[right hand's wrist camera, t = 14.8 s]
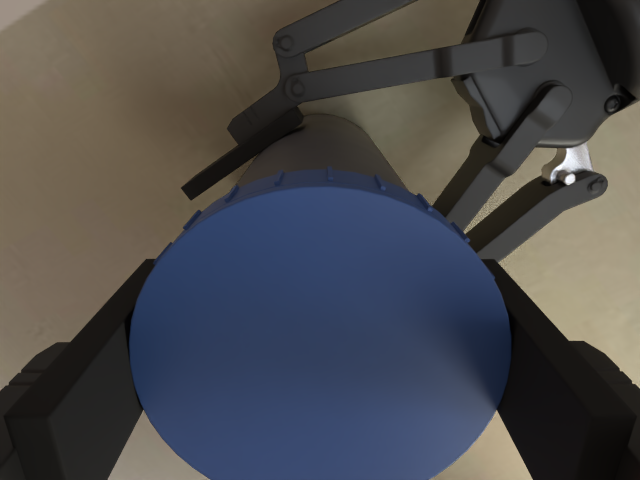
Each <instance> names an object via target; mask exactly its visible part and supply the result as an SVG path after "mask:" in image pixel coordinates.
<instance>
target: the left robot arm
mask: <svg viewBox="0 0 640 480" xmlns="http://www.w3.org/2000/svg"><path fill="white" fill-rule="evenodd" d="M416 1H418V0H340V1H338V2H336V3H333V4H331V5H329V6H327V7H325V8H323V9H321V10H319V11H317V12H315V13H313V14H311V15H309V16H307V17H305V18H302V19H300V20H298V21H296V22H294V23H292V24H290V25H288V26H286V27H284V28H282V29H280V30H279V31H277V32H276V34H275V35H274V37H273V43H272V44H273V48H274V50H275V53H276V57H277V61H278V64H279V68H280V80H279V83H278V85H277V86H276V87H275V88H274V89H273V90H272V91H270V92H269V93H268V94H266V95H265V96H264V97H262V98H261V99H259V100H258V101H257V102H255V103H254V104H253V105H251V106H250V107H248V108H247V109H246V110H244V111H243V112H242V113H240V114H239V115H237V116H236V117H235V118H233V119H232V121H231V123H230V124H229V126H228V128H227V130H228V131H229V132H230V134H231V135H232V137H233V138H234V139H235V141H236V142H237V143H238V146H236V147H235V148H233V149H232V150H231V151H229V152H228V153H226V154H225V155H224V156H222V157H221V158H219V159H218V160H216V161H215V162H214V163H212V164H211V165H209V166H208V167H207V168H205V169H204V170H202V171H201V172H200V173H198V174H197V175H195V176H194V177H193V178H192V179H191V180H190V181H188V182H187V183H186V184H185V185H184V186H183V187H181V189H182V190H183V191H184V193H185V194H186V195H187V196H188V198H189V199H190V200H193V199H194V198H195V197H197V196H198V195H200V194H201V193H203V192H204V191H205V190H207V189H208V188H210V187H211V186H213V185H214V184H215V183H217V182H218V181H220V180H221V179H223V178H224V177H226V176H227V175H228V174H230V173H231V172H233V171H234V170H236V169H237V168H238V167H240V166H241V165H243V164H244V163H246V162H247V161H248V160H250V159H251V158H253V157H254V156H256V155H257V154H258V153H260V152H261V151H263V150H264V149H266V148H267V147H268V146H270V145H271V144H273V143H274V142H276V141H277V140H279V139H280V138H281V137H283V136H284V135H286V134H287V133H289V132H290V131H291V130H293V129H294V128H296V127H297V126H299V125H300V124H301V123H302V122H303V119H304V116H303V115H302V113H301V112H300V110H299V109H298V107H297V106H298V105H299V104H301V103H302V102H308V101H313V100H319V99H325V98H330V97H336V96H341V95H347V94H352V93H358V92H363V91H369V90H375V89H380V88H386V87H391V86H397V85H402V84H408V83H414V82H419V81H425V80H430V79H436V78H444V77H451V76H453V79H451V81H452V83H453V85H454V87H455V89H456V91H457V93H458V94H459V95H460V96H461V97H462V98H463V99H464V100H465V101H466V102H467V103H468V104H469V106H470V111H471V115H472V120H473V122H474V124H475V126H476V128H477V130H478V132H479V133H480V136H479V137H478V139H477V140H476V141H475V143H474V144H473V146H472V147H471V149H470V154H469V156H468V158H467V159H466V161H465V162H464V163H463V165H462V166H461V167H460V169H459V170H458V171H457V173H456V174H455V176H454V177H453V178H452V180H451V181H450V182H449V184H448V185H447V186H446V188H445V189H444V191H443V192H442V193H441V195H440V196H439V197H438V199H437V200H436V201H435V203H434V204H433V205H432V207H433V208H434V209H436V210H437V211H438V212H440V213H441V214H442V215H443V216H444V217H445V218H446V219H447V220H448V221H449V222H450V223H452V222H453V221H454V222H455V223H456V225H457V226H458V227H459V228H460V229H461V230H462V231H464V230H465V228H466V227H467V226H468V225H469V223H470V222H471V221H472V219H473V218H474V217H475V216H476V214H477V213H478V212H479V210H480V209H481V208H482V207H483V205H484V204H485V203H486V201H487V200H488V199H489V198H490V196H491V195H492V194H493V192H494V191H495V190H496V189H497V187H498V186H499V185H500V183H501V182H502V181H503V180H504V179H505V178H506V177H508V176H510V175H512V174H513V173H515V172H516V170H517V169H518V168H519V167H520V166H521V164H522V163H523V162H524V160H525V159H526V158H527V157H528V155H529V154H530V153H531V151H532V150H533V149H534V148H535V147H541V148H557V154H556V156H555V158H554V159H553V160H552V161H550V162H549V163H548V164H546V165H544V166H543V167H542V169H541V171H542V175H541V176H539V177H537V178H535V179H534V180H532V181H530V182H529V183H527V184H526V185H524V186H523V187H522V188H520V189H519V190H518V191H517V192H516V193H514V194H513V195H512V196H511V197H510V198H508V199H507V200H506V201H505V202H504V203H502V204H501V205H500V206H499V207H498V208H496V209H495V210H494V211H493V212H492V213H490V214H489V215H488V216H487V217H485V218H484V219H483V220H482V221H481V222H479V223H478V224H477V225H476V226H475V227H473V228H472V229H471V230H470V231H469V232H467V233H466V234H465V235H466V236H467V237H468V238H469V239H470V242H468V244H469V245H470V246H471V248H472V249H473V250H474V251H475V252H476V254H477V255H478V256H479V258H480V259H495V260H496V262H497V263H498V262H500V261H501V260H502V259H504V258H505V257H506V256H507V255H509V254H510V253H511V252H512V251H514V250H515V249H516V248H517V247H519V246H520V245H521V244H522V243H524V242H525V241H526V240H528V239H529V238H530V237H531V236H533V235H534V234H535V233H536V232H538V231H539V230H540V229H541V228H543V227H544V226H545V225H546V224H548V223H549V222H550V221H552V220H553V219H554V218H555V217H557V216H558V215H559V214H560V213H562V212H563V211H565V210H567V209H570V208H572V207H575V206H577V205H580V204H582V203H585V202H587V201H590V200H592V199H595V198H597V197H599V196H601V195H602V194H603V193H604V192H605V191H606V189H607V186H608V181H607V179H606V177H605V176H603V175H602V174H599V173H596V172H594V170H593V167H592V163H591V158H590V154H589V150H588V146H587V141H588V140H589V139H590V138H591V137H592V136H593V135H594V133H595V132H596V130H597V129H598V127H599V126H600V125H601V124H602V123H603V122H604V121H605V120H606V119H607V118H608V117H610V116H611V115H613V114H615V113H616V112H619V111H621V110H623V109H625V108H627V107H629V106H631V105H632V104H634V103H636V102H638V101H640V0H480V2H479V4H478V6H477V8H476V11H475V13H474V15H473V18H472V20H471V22H470V24H469V27H468V29H467V31H466V34H465V36H464V38H463V40H462V43H461V44H459V45H453V46H448V47H442V48H437V49H432V50H426V51H421V52H415V53H410V54H405V55H399V56H394V57H388V58H383V59H377V60H372V61H366V62H361V63H356V64H350V65H345V66H339V67H334V68H328V69H323V70H317V71H312V72H309V70H308V66H307V62H306V58H305V53H308V52H310V51H312V50H314V49H316V48H318V47H320V46H322V45H325V44H327V43H329V42H331V41H333V40H335V39H337V38H339V37H341V36H344V35H346V34H348V33H350V32H352V31H354V30H356V29H358V28H361V27H363V26H365V25H367V24H369V23H371V22H373V21H375V20H377V19H380V18H382V17H384V16H386V15H388V14H390V13H392V12H394V11H397V10H399V9H401V8H403V7H405V6H407V5H409V4H411V3H413V2H416Z"/></svg>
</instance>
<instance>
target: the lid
mask: <svg viewBox="0 0 640 480" xmlns="http://www.w3.org/2000/svg"><path fill="white" fill-rule="evenodd" d="M183 229H184V231H183V232H182V233H181V234H180V235H179V236H178V237H177V239H176V240H175V241H174V242H173V243H172V242H170V243H169V245H168V246H167V247H166V248H165V249H164V250H163V252H162V253H161V254H160V255H159V256H158V257H157V259H156V260H155V261H154V263H153V264H154V265H155V267H154V268H153V270H152V271H151V273H150V274H149V276H148V277H147V279H146V281H145V283H144V285H143V287H142V290H141V292H140V294H139V296H138V298H137V301H136V305H135V308H134V312H133V316H132V319H131V326H130V335H129V361H130V367H131V373H132V378H133V383H134V387H135V389H136V392H137V395H138V398H139V400H140V403H141V405H142V407H143V409H144V411H145V413H146V415H147V417H148V418H149V420H150V422H151V424H152V425H153V426H154V428H155V429H156V431H157V432H158V433H159V435H160V436H161V438H162V439H163V440H164V441H165V442H166V443H167V444H168V445H169V446H170V448H171V449H172V450H173V451H174V452H175V453H176V454H177V455H178V456H179V457H181V458H182V459H183V460H184V461H185V462H187V463H188V464H189V465H190V466H191V467H193V468H194V469H195V470H197V471H198V472H200V473H201V474H203V475H204V476H206V477H207V478H209V479H211V480H429V479H431V478H433V477H435V476H436V475H438V474H439V473H440V472H442V471H443V470H445V469H446V468H448V467H449V466H450V465H452V464H453V463H454V462H455V461H456V460H457V459H458V458H460V457H461V456H462V455H463V454H464V453H465V452H466V451H467V450H468V449H469V448H470V447H471V446H472V445H473V444H474V442H475V441H476V440H477V439H478V438H479V437H480V436H481V434H482V433H483V431H484V430H485V428H486V427H487V425H488V424H489V422H490V421H491V419H492V418H493V416H494V414H495V412H496V410H497V408H498V406H499V404H500V401H501V399H502V397H503V393H504V390H505V387H506V384H507V380H508V375H509V369H510V363H511V331H510V324H509V318H508V313H507V310H506V307H505V304H504V301H503V298H502V295H501V292H500V290H499V288H498V286H497V285H496V283H495V281H494V279H495V277H494V275H493V274H492V272H491V271H490V270H489V269H488V268H487V266H486V265H485V264H484V263H483V262H482V260H481V259H480V258H479V256H478V255H477V254H476V252H475V251H474V250H473V249H472V248H471V246H470V245H469V244H468V242H470V239H469V238H468V237H467V236H466V235H465V234H464V233H463V231H462V230H461V229H460V228H459V227H458V226H457V225H456V223H455V222H454V221H453V222H452V223H450V222H449V221H448V220H447V219H446V218H445V217H444V216H443V215H442V214H441V213H440V212H438V211H437V210H436V209H434V208H433V207H432V206H430V204H429V203H428V202H427V201H426V199H425V198H424V197H423V196H422V195H421V194H419V193H418V195H417V196H416V195H414V194H412V193H410V192H409V191H407V190H405V189H403V188H402V187H399V186H397V185H394V184H392V183H389V182H387V181H384V180H382V179H381V177H380V175H377V174H375V177H372V176H367V175H363V174H359V173H355V172H348V171H339V170H332V166H327V169H324V170H300V171H293V172H286V173H284V172H283V170H279V171H278V173H277V174H276V175H273V176H269V177H266V178H262V179H259V180H255V181H253V182H251V183H249V184H246V185H244V186H242V187H238V185H235V186H234V187H233V188H232V189H231V191H230V192H229V193H228V194H226V195H225V196H223V197H221V198H220V199H218V200H217V201H215V202H213V203H212V204H211V205H210V206H208V207H207V208H206V209H205V210H204V211H202V212H201V211H200V210H198V211H197V212H196V213H195V214H194V215H193V216H192V217H191V219H190V220H189V221H188V222H187V223H186V224H185V226H184V227H183Z"/></svg>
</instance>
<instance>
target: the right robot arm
mask: <svg viewBox="0 0 640 480" xmlns="http://www.w3.org/2000/svg"><path fill="white" fill-rule="evenodd" d="M155 260H156V259H146V260H145V261H144V262H143V263H142V264H141V265H140V266H139V267H138V268H137V270H136V271H135V272H134V273H133V274H132V275H131V276H130V277H129V278H128V279H127V281H126V282H125V283H124V284H123V285H122V286H121V287H120V288H119V289H118V290H117V292H116V293H115V294H114V295H113V296H112V297H111V298H110V299H109V300H108V301H107V302H106V304H105V305H104V306H103V307H102V308H101V309H100V310H99V311H98V312H97V313H96V315H95V316H94V317H93V318H92V319H91V320H90V321H89V322H88V323H87V324H86V326H85V327H84V328H83V329H82V330H81V331H80V332H79V333H78V334H77V335H76V337H75V338H74V339H73V340H72V341H71V342H57V343H55V344H54V345H52V346H50V347H49V348H47V349H45V350H44V351H42V352H40V353H39V354H37V355H36V356H35V357H34V358H33V359H32V360H31V361H30V362H29V363H28V364H27V365H26V366H25V367H24V368H23V369H22V370H21V373H18V374H17V375H16V376H15V377H14V378H13V379H12V380H11V381H10V382H9V385H8V386H5V387H4V388H3V389H2V390H1V391H0V480H107V479H108V477H109V475H110V473H111V471H112V469H113V468H114V466H115V464H116V462H117V460H118V458H119V456H120V454H121V452H122V450H123V448H124V446H125V444H126V442H127V440H128V439H129V437H130V435H131V433H132V431H133V429H134V427H135V425H136V423H137V421H138V419H139V417H140V415H141V413H142V411H143V410H144V409H143V407H142V405H141V403H140V400H139V398H138V395H137V392H136V389H135V387H134V383H133V378H132V373H131V367H130V361H129V335H130V326H131V319H132V316H133V312H134V308H135V305H136V301H137V298H138V296H139V294H140V292H141V290H142V287H143V285H144V283H145V281H146V279H147V277H148V276H149V274H150V273H151V271H152V270H153V268H154V267H155V265H154V264H153V263H154V261H155ZM481 260H482V262H483V263H484V264H485V265H486V266H487V268H488V269H489V270H490V271H491V272H492V274H493V275H494V277H495V279H494V281H495V283H496V285H497V286H498V288H499V290H500V292H501V295H502V298H503V301H504V304H505V307H506V310H507V313H508V318H509V324H510V331H511V363H510V369H509V375H508V380H507V384H506V387H505V390H504V393H503V397H502V399H501V401H500V404H499V406H498V408H497V411H498V413H499V415H500V417H501V419H502V421H503V423H504V424H505V426H506V428H507V430H508V432H509V434H510V436H511V438H512V440H513V442H514V444H515V446H516V448H517V450H518V452H519V453H520V455H521V457H522V459H523V461H524V463H525V465H526V467H527V469H528V471H529V473H530V475H531V477H532V479H533V480H640V389H639V388H638V387H637V386H636V385H635V384H632V380H631V379H630V378H629V377H628V376H627V375H626V374H625V373H624V372H623V371H620V370H619V369H620V368H619V367H618V366H617V365H616V364H615V363H614V362H613V361H612V360H611V359H610V358H609V357H608V356H607V355H606V354H604V353H603V352H601V351H599V350H598V349H596V348H594V347H593V346H591V345H589V344H588V343H586V342H584V341H568V339H567V338H566V337H565V336H564V335H563V334H562V333H561V332H560V331H559V330H558V328H557V327H556V326H555V325H554V324H553V323H552V322H551V321H550V320H549V319H548V318H547V316H546V315H545V314H544V313H543V312H542V311H541V310H540V309H539V308H538V307H537V305H536V304H535V303H534V302H533V301H532V300H531V299H530V298H529V297H528V296H527V294H526V293H525V292H524V291H523V290H522V289H521V288H520V287H519V286H518V285H517V283H516V282H515V281H514V280H513V279H512V278H511V277H510V276H509V275H508V274H507V273H506V271H505V270H504V269H503V268H502V267H501V266H500V265H499V264H498V263H497V262H496V260H495V259H481Z"/></svg>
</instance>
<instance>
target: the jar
mask: <svg viewBox="0 0 640 480" xmlns="http://www.w3.org/2000/svg"><path fill="white" fill-rule="evenodd" d="M327 166H332V170H339V171H348V172H355V173H359V174H363V175H367V176H372V177H375V174H377V175H380V177H381V179H382V180H384V181H387V182H389V183H392V184H394V185H397V186H399V187H402V188H403V189H405V190H407V191H408V189H407V188H406V186H405V185H404V184H403V182H402V181H401V180H400V178H399V177H398V175H397V174H396V173H395V171H394V170H393V168H392V167H391V166H390V164H389V163H388V162H387V160H386V159H385V157H384V156H383V155H382V153H381V152H380V151H379V149H378V148H377V146H376V145H375V144H374V142H373V141H372V140H371V138H370V137H369V136H368V135H367V134H366V133H365V132H364V131H363V130H362V129H361V128H360V127H358V126H357V125H355V124H354V123H352V122H350V121H348V120H346V119H343V118H340V117H337V116H333V115H327V114H314V115H307V116H304V119H303V122H302V123H301V124H300V125H299V126H297V127H296V128H294V129H293V130H291V131H290V132H289V133H287V134H286V135H284V136H283V137H281V138H280V139H279V140H277V141H276V142H274V143H273V144H271V145H270V146H268V147H267V148H266V149H264V150H263V151H261V152H260V153H259V154H258V155H257V156H256V158H255V159H254V161H253V162H252V163H251V165H250V166H249V168H248V169H247V170H246V172H245V173H244V174H243V176H242V177H241V179H240V180H239V181H238V183H237V184H236V185H238V187H242V186H244V185H246V184H249V183H251V182H253V181H255V180H259V179H262V178H266V177H269V176H273V175H276V174H277V173H278V171H279V170H283V172H284V173H286V172H293V171H300V170H324V169H327Z"/></svg>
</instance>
